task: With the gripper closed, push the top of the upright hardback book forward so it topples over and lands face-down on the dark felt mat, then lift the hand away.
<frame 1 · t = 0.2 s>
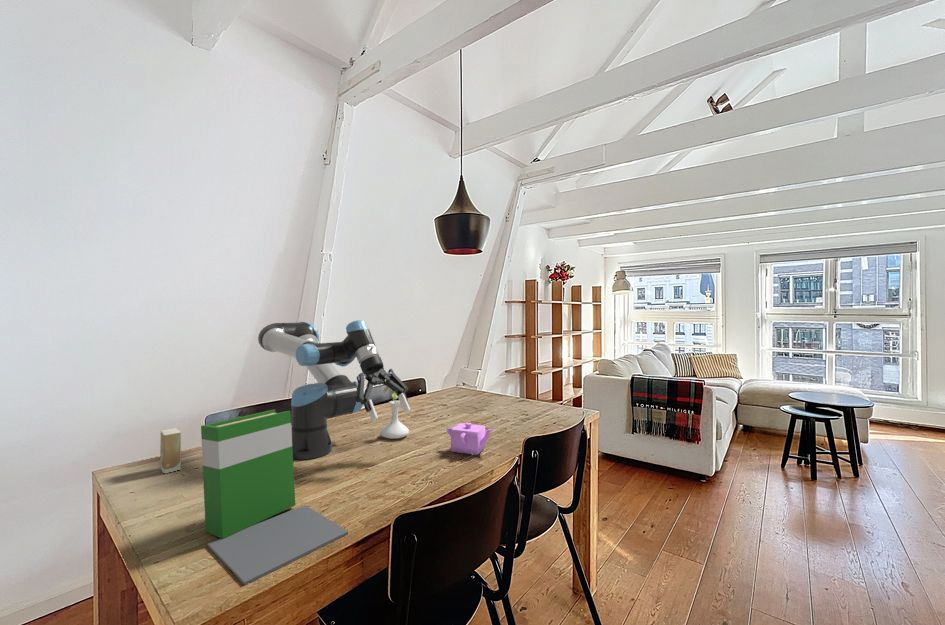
hand: (392, 415, 134), 15 cm above the table, tool tilted 35°, fingers open, 13 cm apart
hardback book: (253, 518, 97), on the table, touching felt mat
flower in vase: (394, 437, 159), on the table
skincare box: (170, 470, 126), on the table
felt mat: (279, 539, 89), on the table
teapot: (469, 452, 144), on the table
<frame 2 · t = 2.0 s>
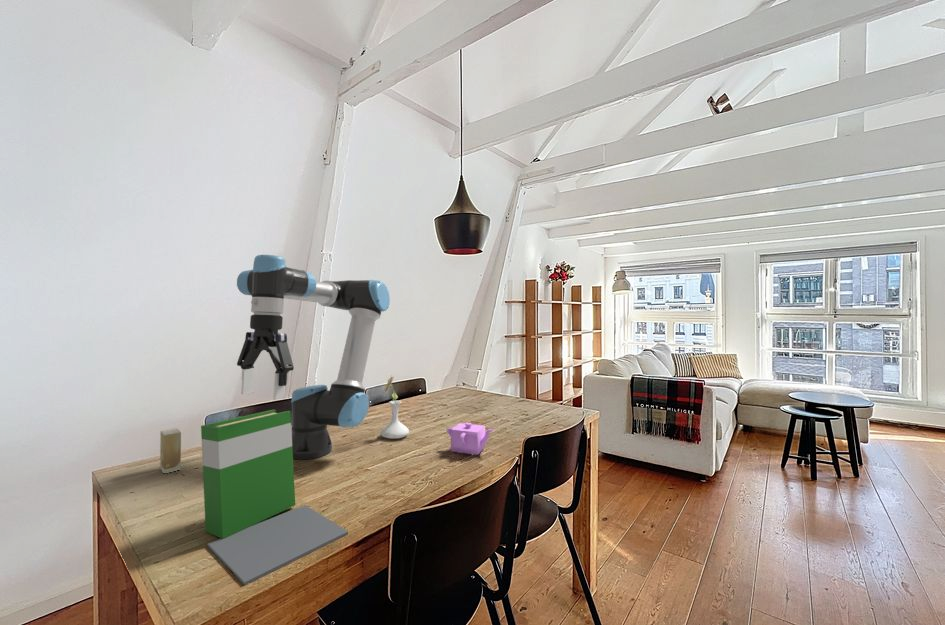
hand: (262, 396, 104), 28 cm above the table, tool pointing down, fingers open, 13 cm apart
nothing on the table moved.
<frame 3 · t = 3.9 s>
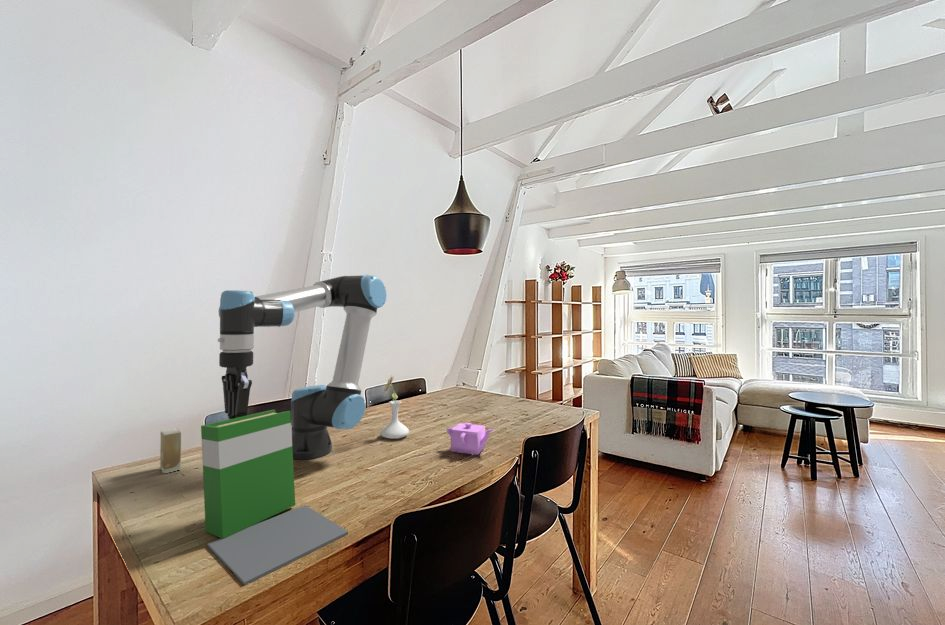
hand: (235, 442, 103), 16 cm above the table, tool pointing down, fingers closed
nothing on the table moved.
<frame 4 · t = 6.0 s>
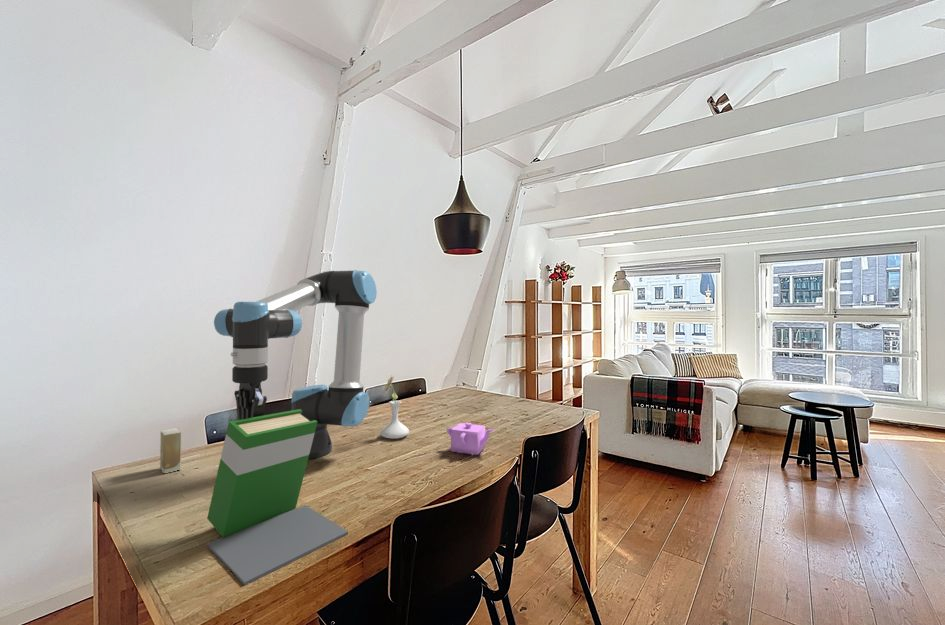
hand: (249, 461, 98), 14 cm above the table, tool pointing down, fingers closed
hardback book: (253, 513, 97), point 1 cm above the table, touching felt mat
everything else where it was.
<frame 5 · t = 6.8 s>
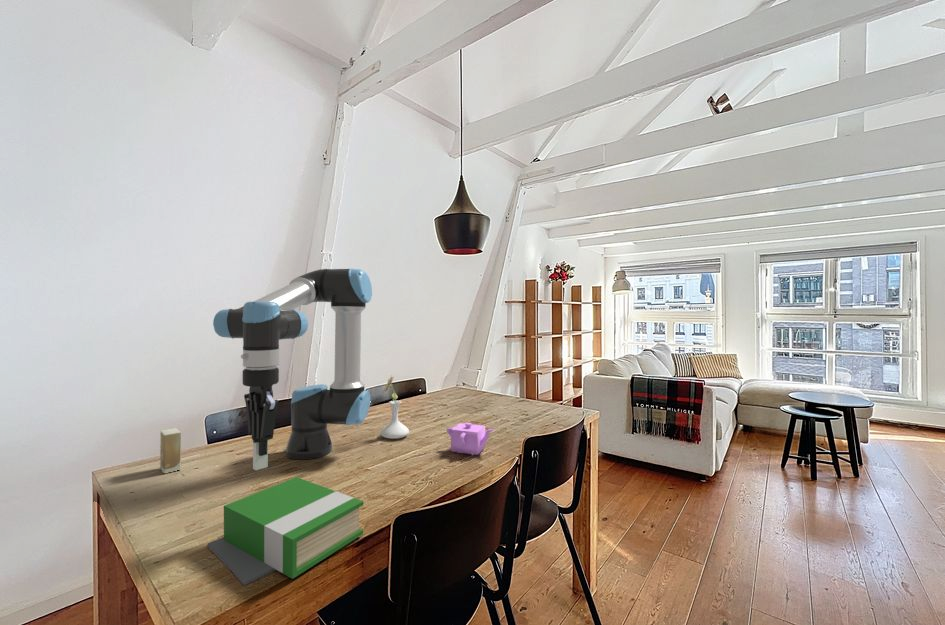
hand: (260, 467, 94), 14 cm above the table, tool pointing down, fingers closed
hardback book: (262, 505, 95), point 4 cm above the table, touching felt mat
everything else where it was.
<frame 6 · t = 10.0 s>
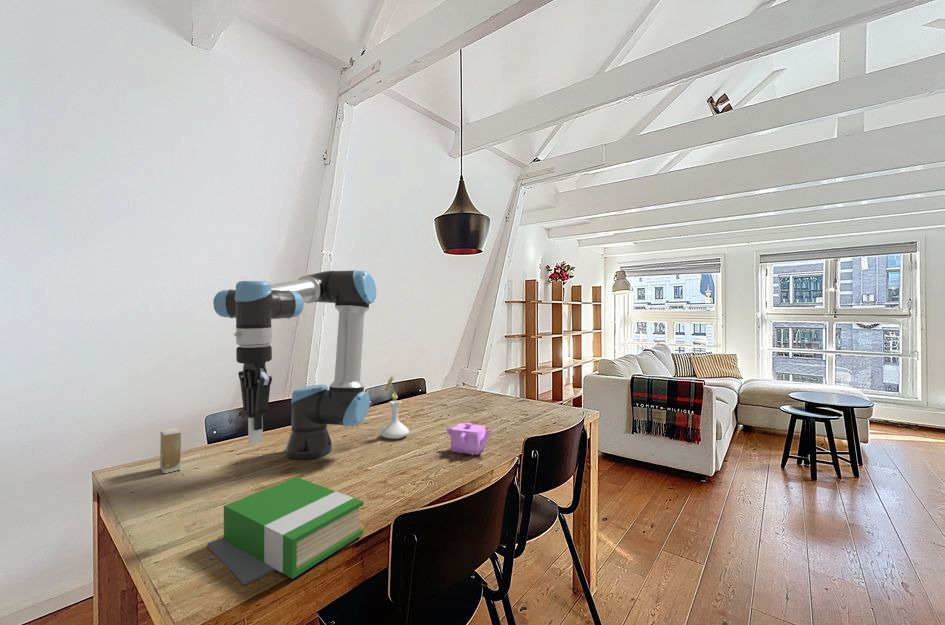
hand: (255, 441, 98), 19 cm above the table, tool pointing down, fingers closed
nothing on the table moved.
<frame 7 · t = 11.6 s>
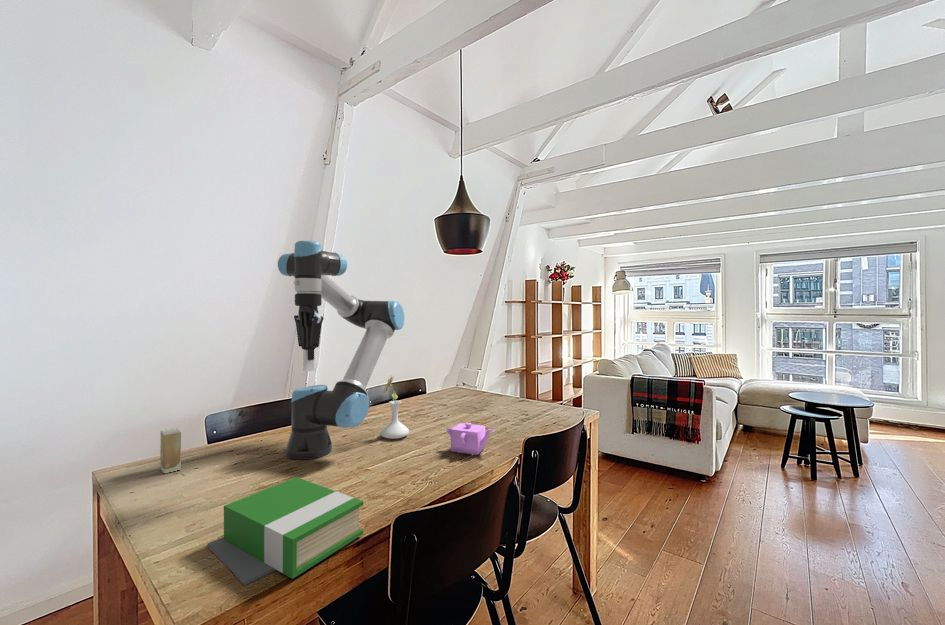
hand: (308, 370, 122), 32 cm above the table, tool pointing down, fingers closed
nothing on the table moved.
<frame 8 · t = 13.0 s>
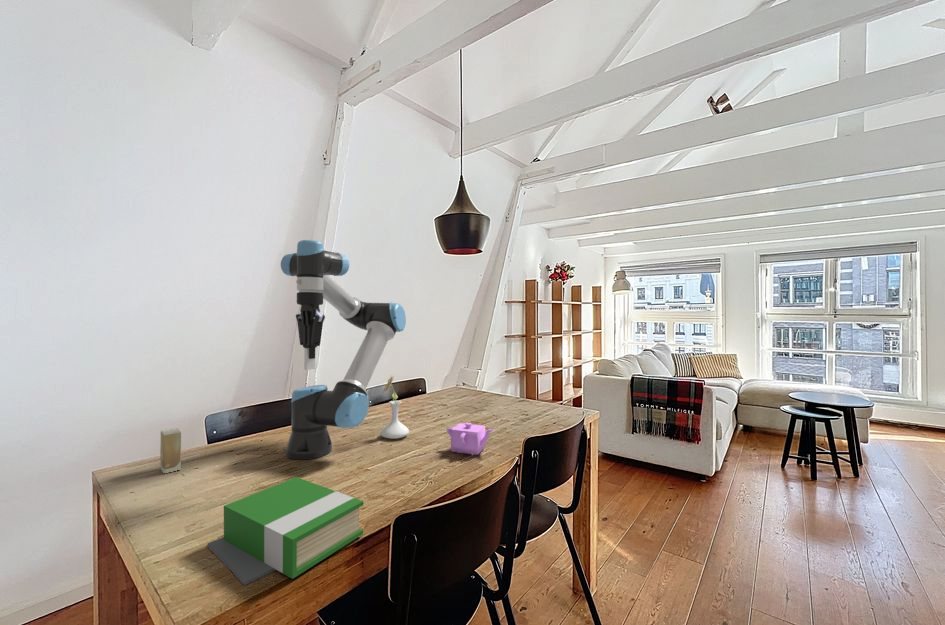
hand: (309, 369, 123), 32 cm above the table, tool pointing down, fingers closed
nothing on the table moved.
at the end: hardback book tilted 90°; hardback book inside the target area (3.8 cm from its centre), point 4.3 cm above the table; the gripper is holding nothing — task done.
